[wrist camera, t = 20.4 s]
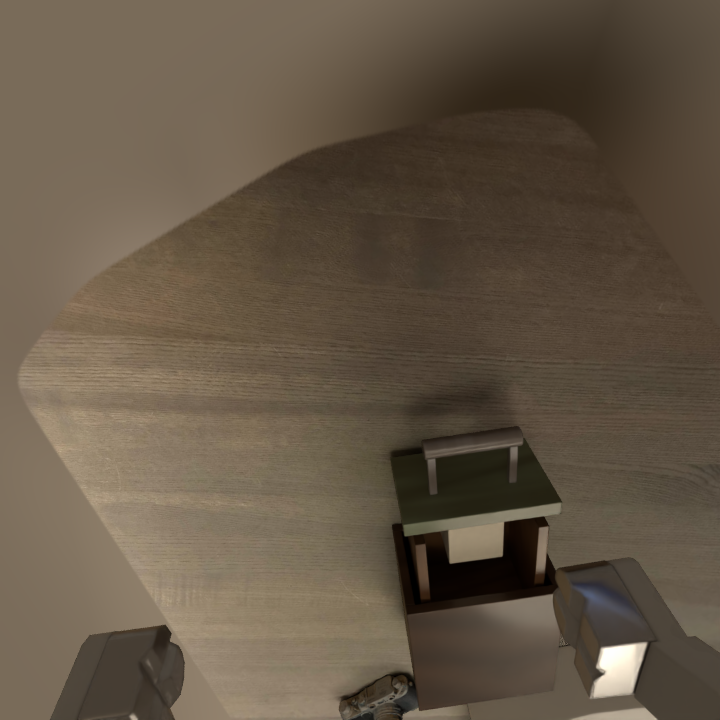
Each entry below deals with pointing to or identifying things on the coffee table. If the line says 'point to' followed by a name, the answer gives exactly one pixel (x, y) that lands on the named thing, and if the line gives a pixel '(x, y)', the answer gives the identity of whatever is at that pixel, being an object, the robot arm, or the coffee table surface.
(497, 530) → the block
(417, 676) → the cabinet
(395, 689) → the camera
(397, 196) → the coffee table surface
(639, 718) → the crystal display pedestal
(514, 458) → the drawer
